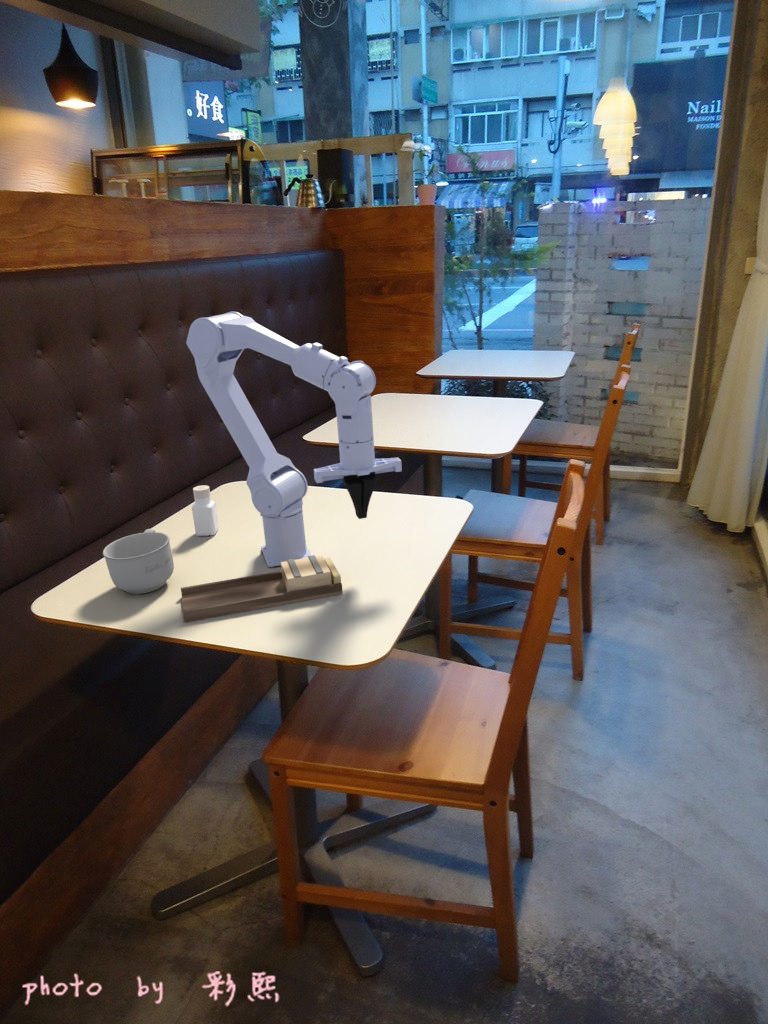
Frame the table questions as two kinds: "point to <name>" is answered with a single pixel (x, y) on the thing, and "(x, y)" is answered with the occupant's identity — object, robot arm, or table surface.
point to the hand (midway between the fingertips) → (361, 516)
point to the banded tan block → (305, 573)
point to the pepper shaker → (204, 512)
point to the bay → (249, 594)
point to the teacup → (140, 561)
